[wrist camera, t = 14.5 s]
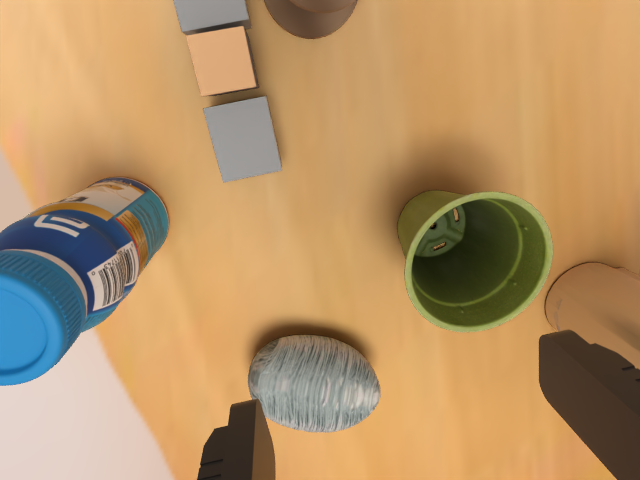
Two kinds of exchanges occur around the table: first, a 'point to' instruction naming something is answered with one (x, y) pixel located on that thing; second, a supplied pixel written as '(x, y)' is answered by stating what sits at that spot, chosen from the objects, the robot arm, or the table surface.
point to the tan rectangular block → (223, 61)
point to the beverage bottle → (72, 270)
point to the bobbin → (310, 16)
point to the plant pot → (473, 257)
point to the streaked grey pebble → (313, 383)
